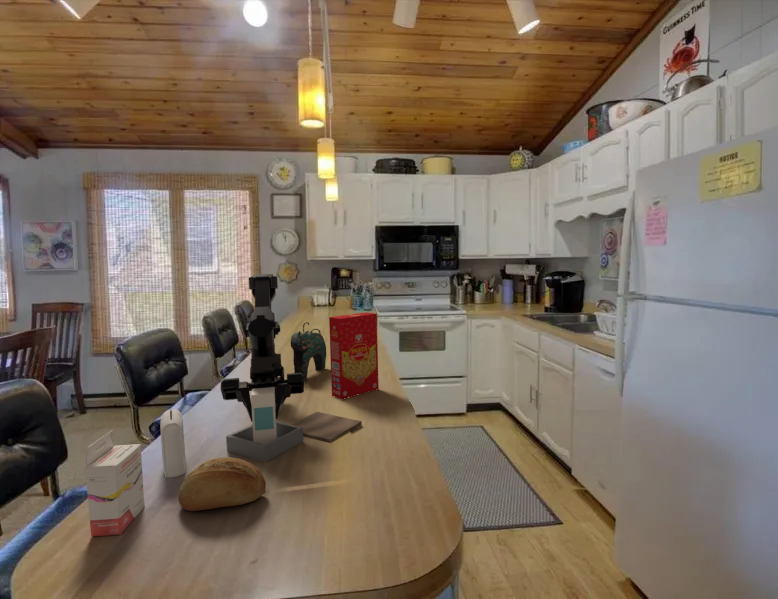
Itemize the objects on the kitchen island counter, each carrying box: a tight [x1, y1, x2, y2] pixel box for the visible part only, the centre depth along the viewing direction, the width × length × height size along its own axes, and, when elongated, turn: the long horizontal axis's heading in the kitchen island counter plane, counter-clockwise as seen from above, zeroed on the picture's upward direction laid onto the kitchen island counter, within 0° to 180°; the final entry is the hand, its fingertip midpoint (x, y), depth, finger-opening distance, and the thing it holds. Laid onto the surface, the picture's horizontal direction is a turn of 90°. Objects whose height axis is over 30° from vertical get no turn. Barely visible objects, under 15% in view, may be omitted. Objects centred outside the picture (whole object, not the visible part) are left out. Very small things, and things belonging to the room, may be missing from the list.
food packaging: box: [328, 311, 380, 400], centre depth 141 cm, size 15×5×25 cm, turn 131°
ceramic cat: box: [290, 321, 327, 381], centre depth 165 cm, size 20×6×20 cm, turn 160°
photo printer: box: [159, 408, 187, 478], centre depth 93 cm, size 10×4×12 cm, turn 26°
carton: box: [250, 387, 277, 445], centre depth 102 cm, size 5×5×13 cm
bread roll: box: [177, 456, 267, 512], centre depth 80 cm, size 10×15×8 cm, turn 102°
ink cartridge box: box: [84, 429, 145, 537], centre depth 75 cm, size 9×5×15 cm, turn 5°
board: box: [289, 411, 363, 443], centre depth 113 cm, size 15×13×1 cm
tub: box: [225, 420, 304, 463], centre depth 102 cm, size 12×12×4 cm
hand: (264, 419), depth 101 cm, fingers closed on carton, 5 cm apart
